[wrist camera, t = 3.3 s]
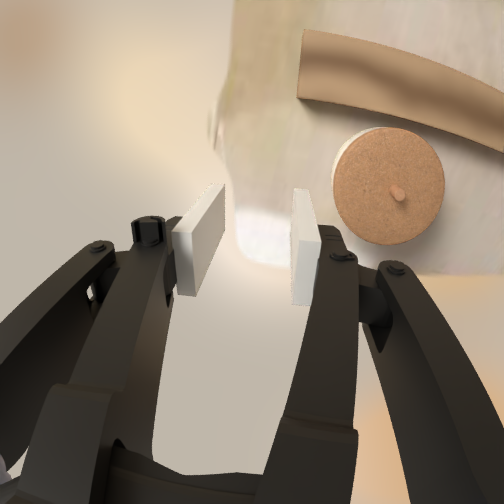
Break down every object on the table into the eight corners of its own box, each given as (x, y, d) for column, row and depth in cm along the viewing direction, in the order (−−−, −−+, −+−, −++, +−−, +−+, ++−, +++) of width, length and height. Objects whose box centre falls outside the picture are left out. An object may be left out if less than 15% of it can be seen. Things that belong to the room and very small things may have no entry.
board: (302, 35, 25) (304, 29, 22) (531, 115, 23) (545, 118, 21) (296, 97, 28) (297, 96, 25) (524, 163, 27) (538, 169, 24)
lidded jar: (329, 114, 29) (347, 117, 20) (421, 133, 28) (464, 146, 20) (317, 209, 34) (327, 247, 25) (403, 221, 33) (435, 259, 25)
